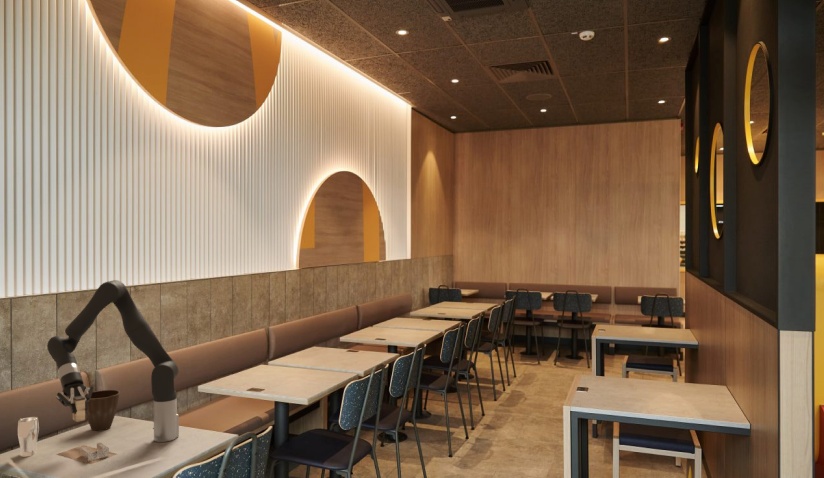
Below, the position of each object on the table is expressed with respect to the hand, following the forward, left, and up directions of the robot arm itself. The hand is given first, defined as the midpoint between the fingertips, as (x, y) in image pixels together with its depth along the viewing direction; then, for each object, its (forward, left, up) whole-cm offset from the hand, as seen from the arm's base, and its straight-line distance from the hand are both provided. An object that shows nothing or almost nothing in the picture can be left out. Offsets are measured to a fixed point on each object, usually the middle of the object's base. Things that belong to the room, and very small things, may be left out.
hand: (80, 411), depth 221 cm
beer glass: (+9, -19, -18) cm, 28 cm away
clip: (-1, +8, -17) cm, 19 cm away
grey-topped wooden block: (-1, -2, -4) cm, 4 cm away
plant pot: (-25, -24, -18) cm, 39 cm away
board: (-1, +3, -18) cm, 18 cm away
